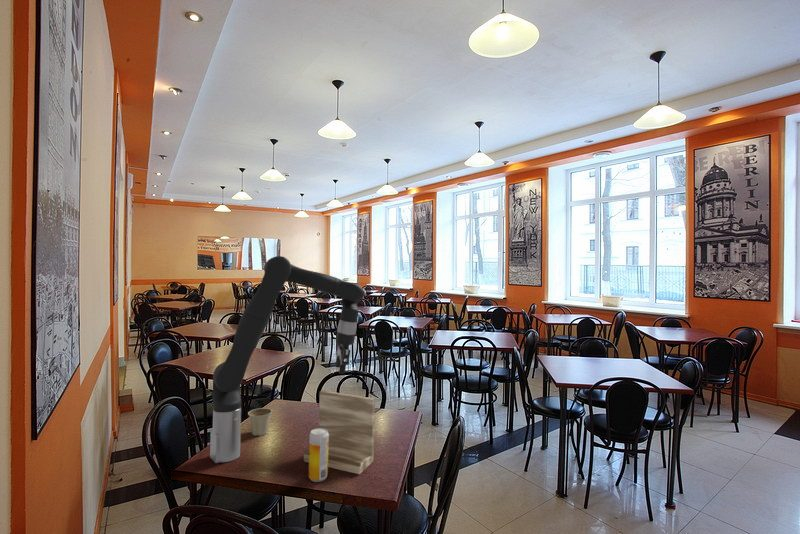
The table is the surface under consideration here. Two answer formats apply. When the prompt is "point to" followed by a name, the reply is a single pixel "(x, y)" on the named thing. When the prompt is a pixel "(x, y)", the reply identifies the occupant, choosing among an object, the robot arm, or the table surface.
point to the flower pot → (260, 420)
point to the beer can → (318, 454)
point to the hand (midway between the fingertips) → (339, 370)
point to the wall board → (347, 430)
